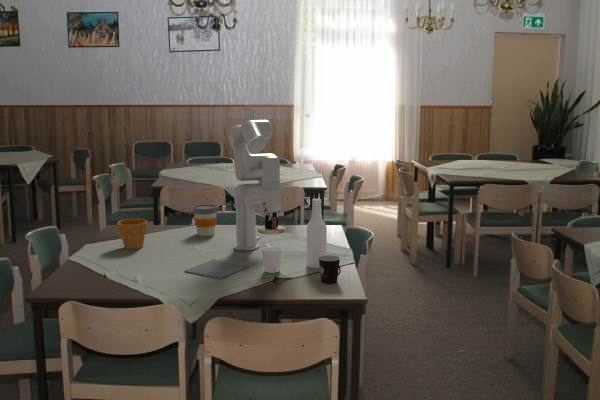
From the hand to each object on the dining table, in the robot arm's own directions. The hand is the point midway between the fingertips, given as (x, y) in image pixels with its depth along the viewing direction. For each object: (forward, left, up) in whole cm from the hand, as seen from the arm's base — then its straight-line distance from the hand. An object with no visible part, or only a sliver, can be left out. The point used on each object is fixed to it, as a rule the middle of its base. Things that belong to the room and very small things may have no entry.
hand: (271, 227), depth 265 cm
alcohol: (-16, +13, -19) cm, 28 cm away
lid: (0, 0, -1) cm, 1 cm away
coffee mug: (+2, +29, -19) cm, 35 cm away
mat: (+10, -22, -19) cm, 31 cm away
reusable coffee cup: (-38, -67, -19) cm, 79 cm away
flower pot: (+1, -81, -19) cm, 83 cm away
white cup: (0, 0, -19) cm, 19 cm away
